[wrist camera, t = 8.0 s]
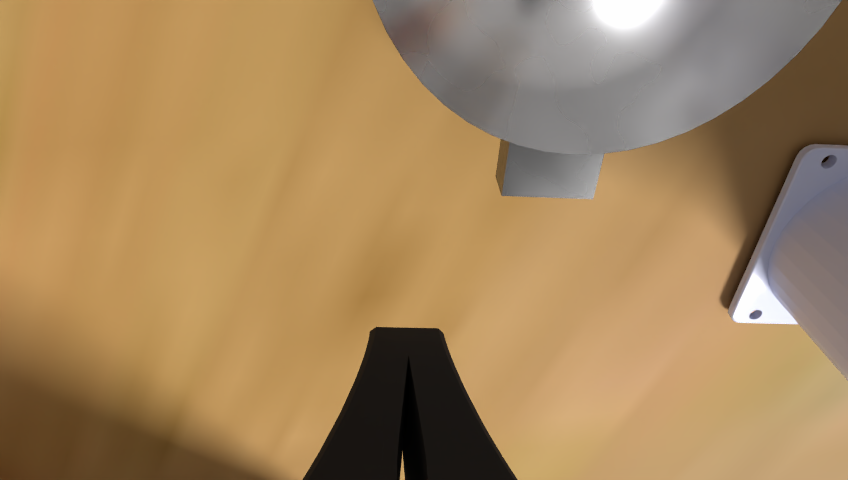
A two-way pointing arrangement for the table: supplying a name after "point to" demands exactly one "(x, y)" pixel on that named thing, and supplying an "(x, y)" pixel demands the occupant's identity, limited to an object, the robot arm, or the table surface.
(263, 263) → the table surface
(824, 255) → the robot arm
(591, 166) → the pot
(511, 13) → the lid
